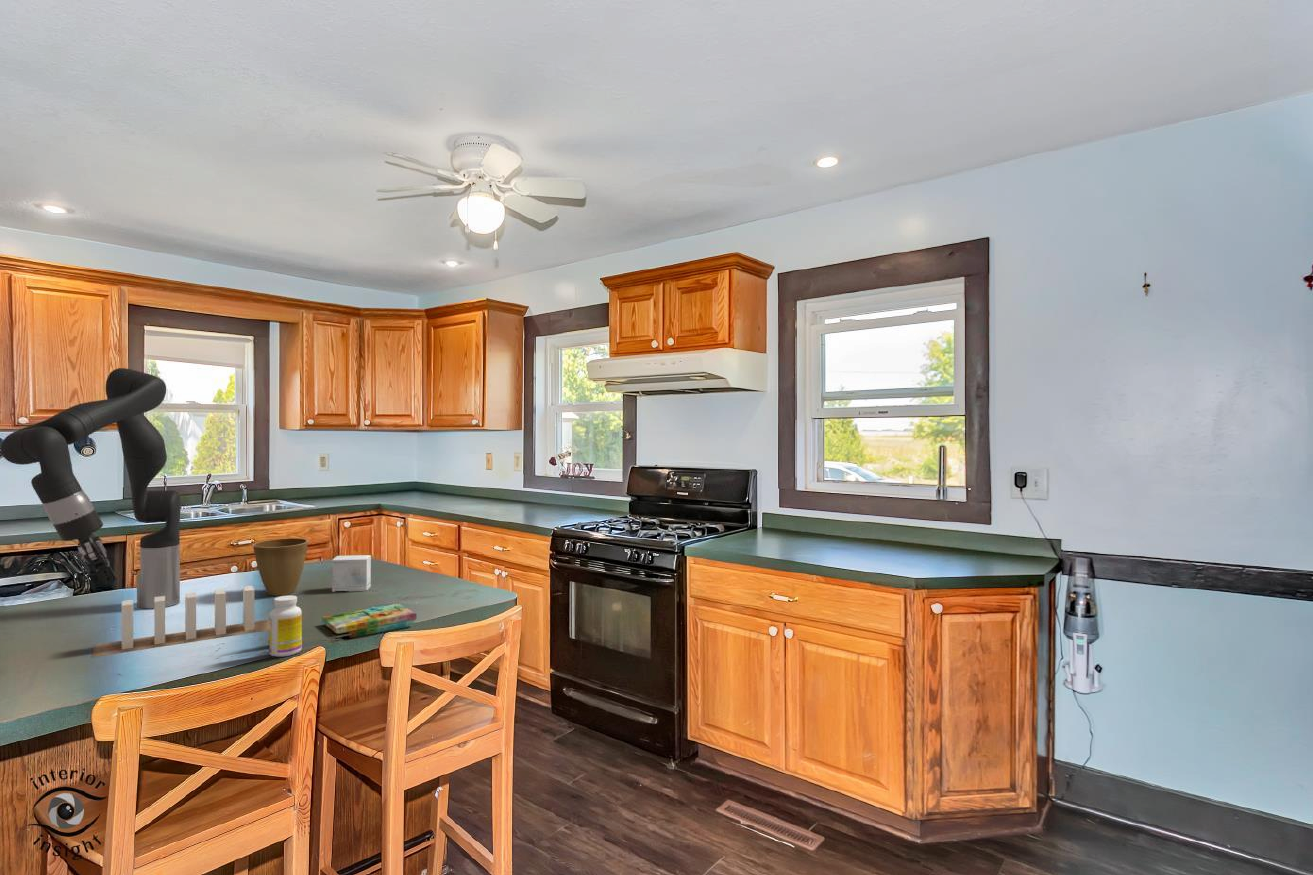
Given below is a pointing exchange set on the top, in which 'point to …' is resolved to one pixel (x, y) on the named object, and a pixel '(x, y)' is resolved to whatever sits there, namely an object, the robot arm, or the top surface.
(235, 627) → the domino board
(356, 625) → the puzzle game
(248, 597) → the domino
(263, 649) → the top surface
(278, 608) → the supplement bottle
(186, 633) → the domino
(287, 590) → the plant pot
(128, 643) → the domino
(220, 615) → the domino
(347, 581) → the skincare box
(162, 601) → the domino
